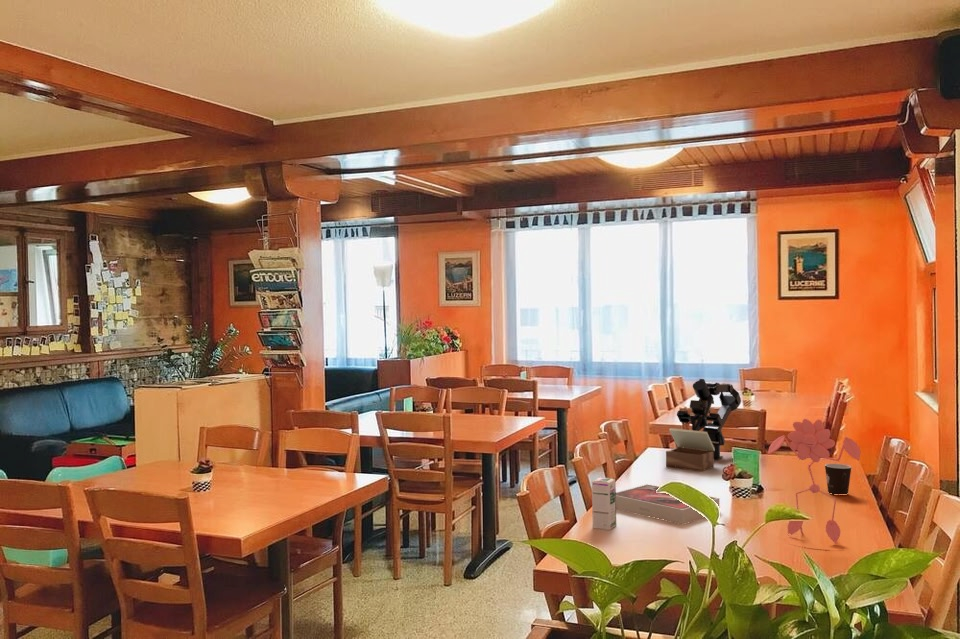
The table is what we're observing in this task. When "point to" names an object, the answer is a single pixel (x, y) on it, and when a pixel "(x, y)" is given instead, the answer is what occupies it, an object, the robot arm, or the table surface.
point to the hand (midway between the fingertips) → (693, 433)
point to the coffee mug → (838, 478)
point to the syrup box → (604, 503)
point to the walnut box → (690, 459)
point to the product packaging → (656, 504)
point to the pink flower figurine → (814, 460)
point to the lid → (692, 439)
